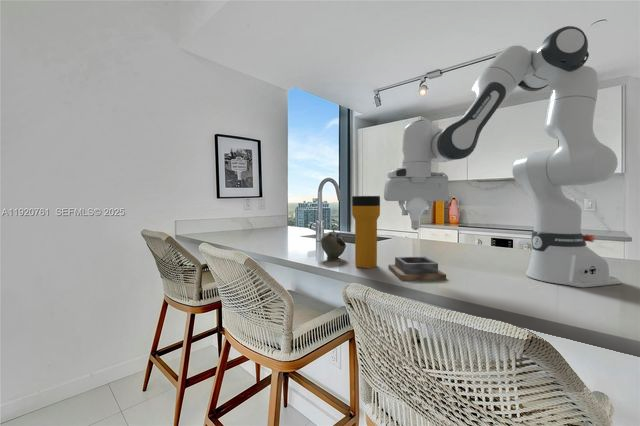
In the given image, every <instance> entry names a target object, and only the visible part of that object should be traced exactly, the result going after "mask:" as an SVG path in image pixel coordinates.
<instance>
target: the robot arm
mask: <svg viewBox="0 0 640 426" xmlns="http://www.w3.org/2000/svg"><path fill="white" fill-rule="evenodd" d="M588 41H589V40H588V38H587V35H586V34H585V32H584V31H583V30H582V29H581V28H579V27H578V26H577V27H576V26H574V25H573V26H572V25H569V26H568V25H567V26H563V27H561V28H558V29H557V30H555V31H554V32H552V33H550V34H549V35H548V36H547V37H546V38H545V39H544V40H543V42H541V43H540V44H538V46H537V47H536V48H535V49H534V50H528V48H527V47H524V46H522V45H511V46H509V47H506V48H505V49H503V50H502V51H501V52H500V53H499V54H498V55H497V56H496V57H494V59H492V60H491V61H490V63H489V64H488V65H487V66H486V67H485V68H484V70H482V72H481V74H479V76H478V77H477V79H476V80H475V81H474V83H473V86H472V88H471V96H472V99H473V101H474V102H472V104H471V105H470V107H469V108H468V109H467V110H466V112H465V113H464V114H463V116H462V117H461V119H460V120H458V121H455V122H454V123H451V124H450V125H449V126H447V127H445V128H444V129H443V128H440V127H438V126H436V125H434V124H433V123H432V122H431V121H430V120H429V119H418V120H416V121H413V122H410V123H409V124H407V125H406V126H405V128H404V129H403V136H402V149H401V150H402V152H403V159H402V162H401V164H402V165H401V167H399V168H396V169H393V170H391V171H388V172H387V178H388V179H387V180H386V181H385V183H384V189H383V199H384V200H385V201H386V202H398V206H399V208H400V209H401V215H402V216H408V215H409V213H408V210H406V207H405V206H406V201H411V200H412V199H414V198H416V197H420V198H422V199H424V200H425V202H426V209H425V211H424V212H423V214H422V215H423V216H430V212H431V211H430V210H431V209H432V208H433V206H434V202H446V201H448V199H449V197H450V195H449V185H448V184H449V177H448V175H447V174H446V173H444V172H443V171H442V172H432V162H436V163H447V162H451V161H454V160H462V159H465V158H467V157H469V156H470V155H472V154H473V152H474V150H475V148H476V147H477V144H478V141H479V139H480V138H479V137H480V134H481V132H482V131H483V129H484V127H485V126H486V125H487V123H488V122H489V120H490V119H491V118H492V116H493V115H494V113H495V112H496V111H497V109H498V108H499V107H500V106H501V104H502V103H504V102H505V101H506V100H507V98H508V97H509V96H511V95H512V93H513V92H514V91H515V89H516V88H517V87H519V88H521V89H522V90H524V91H526V92H527V91H528V92H537V91H540V90H542V89H545V88H546V87H548V86H549V90H550V95H549V96H550V97H549V99H548V104H547V108H546V109H547V110H546V114H545V120H544V125H543V129H544V131H545V133H546V134H547V136H549V137H551V138H553V139H556V140H557V141H559V143H558V148H556V149H548V150H541V151H534V152H532V153H528V154H525V155H523V156H520V157H518V158H517V159H516V160H515V161H514V162H513V166H512V170H511V173H512V176H513V179H514V180H515V182H516V183H517V184H519V185H520V186H521V187H523V189H524V190H525V191H526V192H527V194H528V196H529V198H530V199H531V200H530V201H531V203H532V206H533V207H532V208H533V230H532V231H531V246H532V250H531V255H530V260H529V264H528V268H527V269H526V272H525V275H526V276H527V277H529V278H531V279H535V280H537V281H542V282H546V283H551V284H553V283H554V284H561V285H566V286H570V287H571V286H572V287H575V288H576V287H577V288H591V287H600V286H610V285H611V286H612V285H620V284H621V280H620V279H619V278H617V277H614V276H611V275H610V270H609V269H610V268H609V263H608V261H607V260H606V259H605V258H603V257H602V256H601V255H599V254H598V253H596V252H595V251H594V250H592V249H591V248H589V247H588V246H587V243H586V242H589V243H593V242H594V241H595V240H596V236H595V235H593V234H583V233H582V232H581V231H582V229H581V228H582V212H583V211H582V208H581V205H579V203H577V201H574V200H572V199H570V198H568V197H567V196H566V195H565V193H563V189H562V187H564V186H587V185H592V184H598V183H601V182H606V181H608V180H609V179H610V178H611V177H612V176H613V175H614V174H615V172H616V170H617V168H618V163H619V162H618V156H617V155H616V153H615V151H614V150H613V149H612V148H610V146H608V145H605V144H603V143H602V142H601V141H600V140H599V139H598V138H597V136H596V135H595V133H594V128H593V127H594V117H595V109H596V105H597V100H598V98H597V97H598V84H599V83H598V73H597V70H595V69H594V68H593V67H591V66H588V65H585V64H586V62H587V61H588V59H589V56H590V53H589V51H588V49H589V42H588ZM404 205H405V206H404Z"/></svg>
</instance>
